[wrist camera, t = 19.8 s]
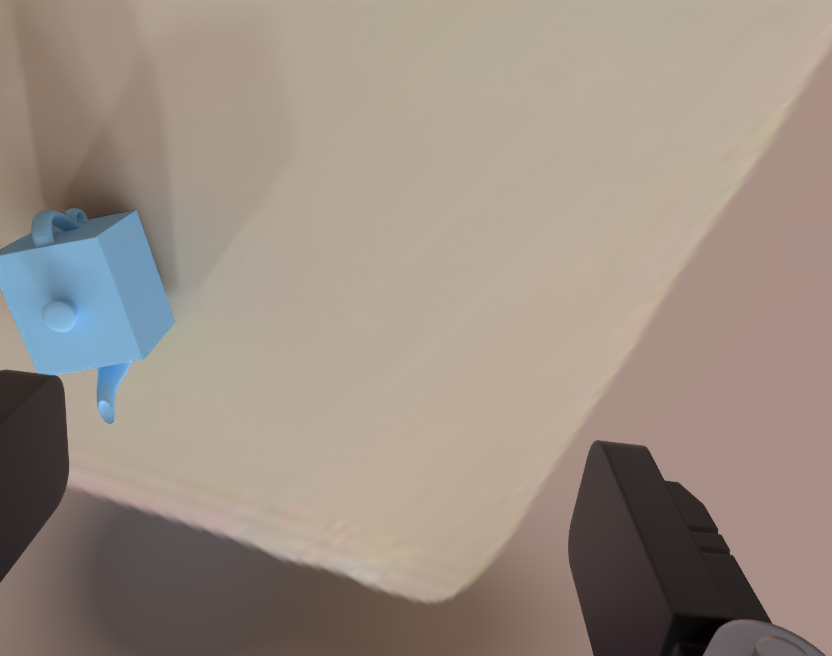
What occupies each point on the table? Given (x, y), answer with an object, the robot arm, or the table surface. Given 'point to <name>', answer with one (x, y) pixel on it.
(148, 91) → the table surface
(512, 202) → the table surface
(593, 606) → the robot arm
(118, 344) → the teapot
